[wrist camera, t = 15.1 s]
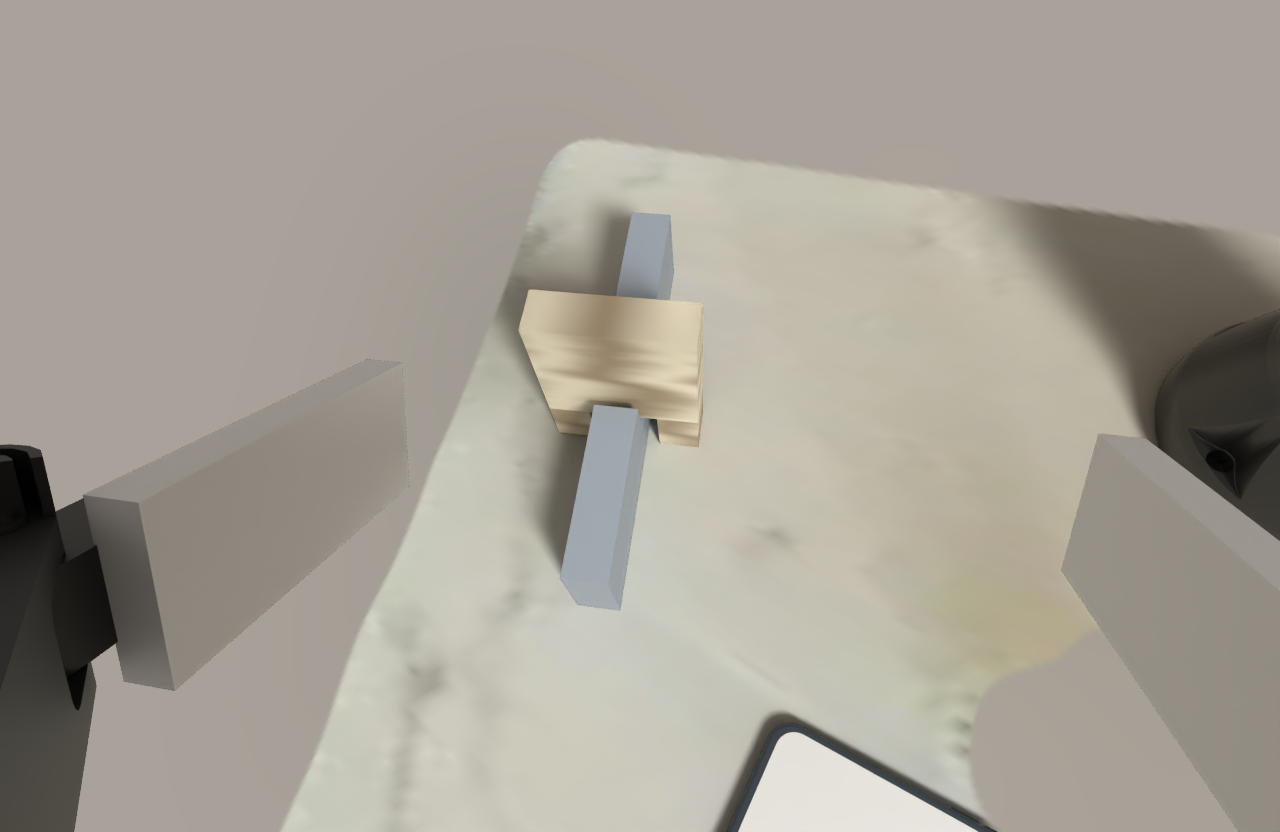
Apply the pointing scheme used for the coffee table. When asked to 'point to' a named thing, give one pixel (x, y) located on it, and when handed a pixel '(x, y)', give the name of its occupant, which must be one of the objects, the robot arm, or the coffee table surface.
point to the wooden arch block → (617, 359)
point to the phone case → (834, 793)
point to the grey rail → (616, 444)
